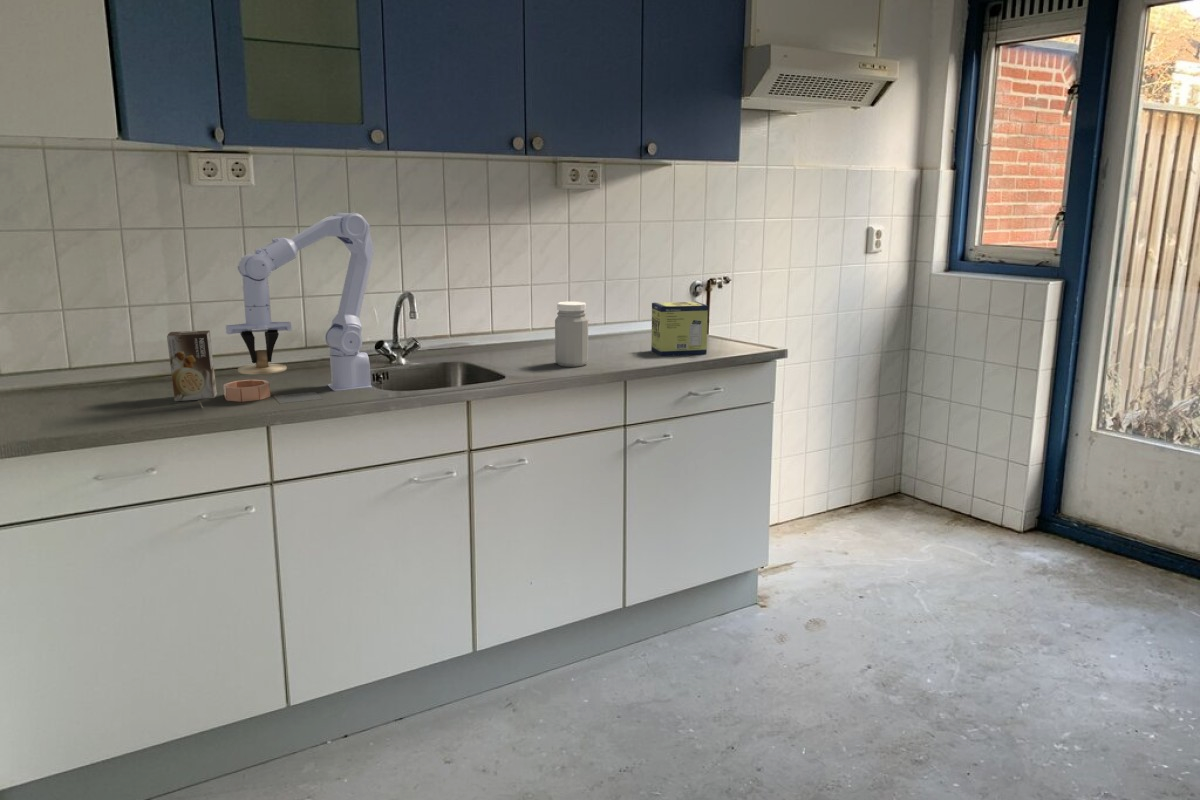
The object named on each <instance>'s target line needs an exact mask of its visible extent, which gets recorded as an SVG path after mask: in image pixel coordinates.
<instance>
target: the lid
mask: <svg viewBox="0 0 1200 800" xmlns="http://www.w3.org/2000/svg"><path fill="white" fill-rule="evenodd" d="M255 354H256V363H254V364H248V365H243V366H239V367H238V368H237V371H238V373H239V374H241V375H242V374H243V375H269V374H278V373H282V372H286V371H287V370H288V369H287V368H288V367H287V365H286V364H284V363H269V362H268V353H267V350H266V349H257V350H256V349H255Z"/></svg>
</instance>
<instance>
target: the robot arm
mask: <svg viewBox="0 0 1200 800" xmlns="http://www.w3.org/2000/svg"><path fill="white" fill-rule="evenodd" d="M370 230H371V225H370V224H369V223H368V221H367V220H366V218H365V217H364V216H363V215H361V214H360V213H357V212H350V213H348V212H341V211H340V212H339V211H338V212H336V213H334V214H332V215H330V216H327V217H324V218H322V219H321V220H319V221H317V222H315V223H314V224H312V225H311V226H309V227H308V228H306V229H304V230H302V231H301V232H299V233H297V234H296V235H294V236H292V237H290V238H286V237H280V238H279V237H274V238H273V239H271V242H270V243H269V244H266V245H265V246H263V247H262V248H259V247H257V248H256V249H254V254H253V253H249V254H248V253H247V254H245V255H244V256H242V257H241V258H240V261H239V263H238V265H237V270H238V272H239V274H240V275H241V276H242V290H243V293H242V294H243V305H244V306H243V307H244V317H245V323H237V324H226V325H225V333H226V334H227V335H234V334H240V337H241V338H242V340H243V341H244V343H245V345H246V347H247V350H248V352H249V356H250V358H251V363H252V364H256V354H255V351H256V349H255V348H256V347H255V346H256V345H255V343H256V342H255V335H254V333H262V332H263V333H264V338H265V346H266V347H265V348H266V349H265V350H267V353H268V363H272V359H273V358H272V357H273V352H274V347H275V346H276V345H275V344H276V343H277V341H278V338H279V336H280V335H279V334H280V333H279V332H280V331H281V332H282V331H292V322H290V321H272V313H271V312H272V311H271V300H270V288H269V287H270V286H269V276H270V275H271V273H272V272H274V271H275V270H277V269H279V268H280V267H283V266H284V265H286V264H288V263H289V262H291V261H293V260H295V259H296V257H297V255H298V251H300V250H302V249H304V248H306V247H308V246H310V245H312V244H314V243H316V242H318V241H320V240H322V239H324V238H326V237H336V238H337V239H338V240H340V241H341V242H342V243H343V244H344V246H346V248H347V249H348V251H349V253H350V256H349V261H348V265H347V270H346V275H345V278H344V285H343V289H342V294H341V297H340V302H339V306H338V310H337V314H336V315H335V316H334V317H333V319H332V320H331V321H332V322H331V324H330V327H329V328H328V329H327V331H326V332H325V336H324V339H325V340H324V341H325V343H326V346H328V347H329V349H330V350H329V363H330V377H331V383H329V384H328V383H327V386H328V387H329V388H330V389H331V390H332V391H334V392H337V391H348V390H357V389H358V390H359V389H369V388H370V389H371V388H372V387H373V386H372V384H371V383H372V382H371V365H370V364H371V363H370V358H369V355H368V353H367V352H364V351H363V352H362V351H361V352H360V349H361V348H362V345H363V337H362V329H363V326H362V323H361V320H360V316H361V311H362V307H363V303H364V298H365V294H366V289H367V285H368V279H369V276H370V275H369V274H370V271H371V265H372V263H373V262H372V261H373V258H374V257H373V256H374V252H375V248H374V244H373V241H372V235H371V233H370Z"/></svg>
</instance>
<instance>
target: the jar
mask: <svg viewBox="0 0 1200 800" xmlns="http://www.w3.org/2000/svg"><path fill="white" fill-rule="evenodd" d="M556 305H557V306H556V308H557V309H556V310H558V311H557V316H556V318H555V319H554V353H555V355H554V360H555V363H556V364H557V365H558V366H560V367H567V368H568V367H569V368H570V367H571V368H573V367H574V368H575V367H576V368H577V367H582V366H585V365H586V364H587V363H588V361H589V318H588V317H587V315H586V314H587V312H586V309H587V303H586V302H583V301H572V300H571V301H570V300H569V301H559V302H558V303H556Z"/></svg>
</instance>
